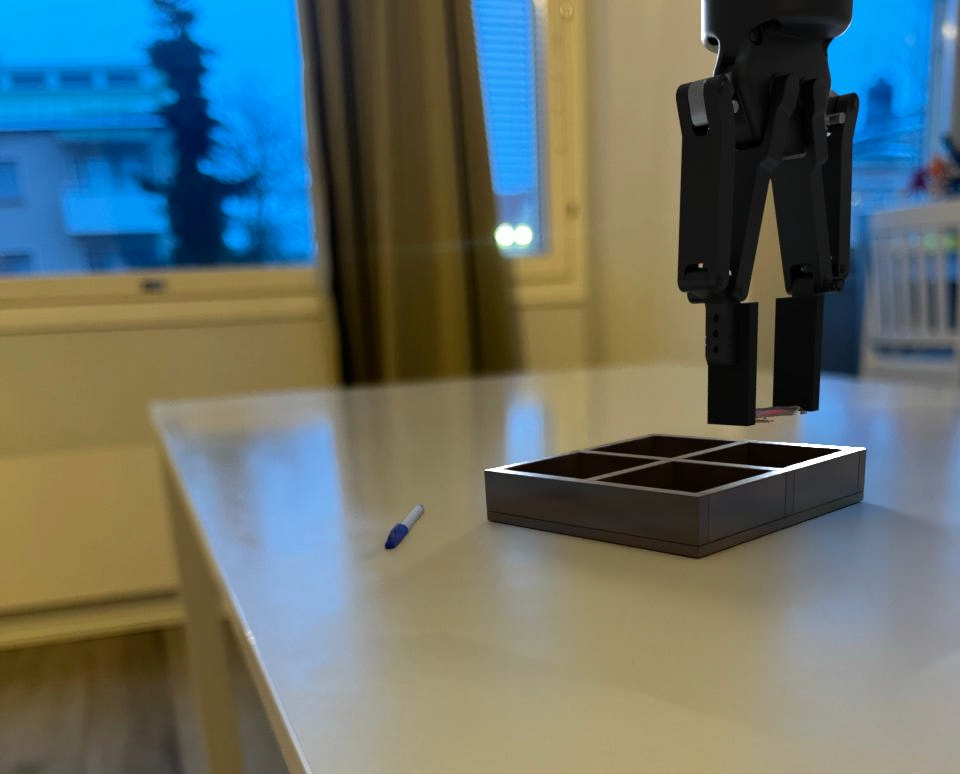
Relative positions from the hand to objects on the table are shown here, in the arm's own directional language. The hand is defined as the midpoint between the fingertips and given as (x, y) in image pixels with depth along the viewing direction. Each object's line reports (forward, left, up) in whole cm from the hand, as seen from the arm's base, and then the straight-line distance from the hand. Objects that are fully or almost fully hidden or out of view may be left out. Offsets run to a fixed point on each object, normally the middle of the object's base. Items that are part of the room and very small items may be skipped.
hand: (764, 416), depth 58 cm
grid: (+4, -4, -5) cm, 8 cm away
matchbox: (0, 0, 0) cm, 0 cm away
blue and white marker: (+16, -15, -6) cm, 22 cm away
